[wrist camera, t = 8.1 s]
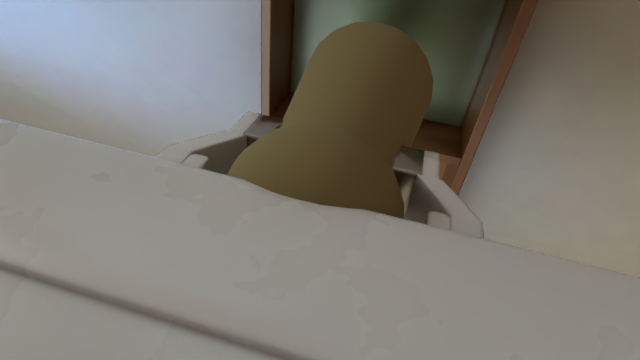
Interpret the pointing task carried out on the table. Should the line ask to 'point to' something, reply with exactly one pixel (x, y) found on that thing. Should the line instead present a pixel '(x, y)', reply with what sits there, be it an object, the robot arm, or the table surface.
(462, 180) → the tray
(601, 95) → the table surface
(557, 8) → the table surface
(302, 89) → the olive pawn
